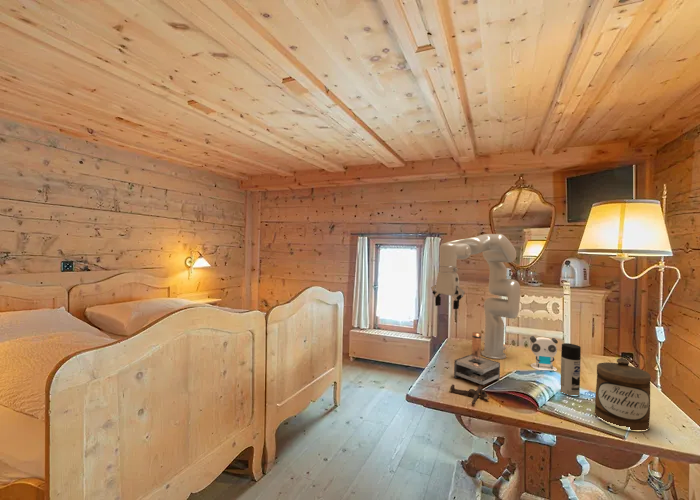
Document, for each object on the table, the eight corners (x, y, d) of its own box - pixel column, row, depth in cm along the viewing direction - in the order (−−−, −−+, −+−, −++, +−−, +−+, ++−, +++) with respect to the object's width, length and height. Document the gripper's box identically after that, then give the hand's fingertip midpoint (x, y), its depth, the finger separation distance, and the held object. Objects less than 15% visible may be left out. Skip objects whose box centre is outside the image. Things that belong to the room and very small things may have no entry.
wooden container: (596, 423, 116) (599, 360, 115) (592, 406, 128) (595, 349, 128) (654, 438, 108) (657, 369, 107) (644, 418, 120) (646, 356, 120)
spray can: (573, 398, 134) (575, 348, 134) (556, 391, 140) (558, 344, 140) (582, 395, 138) (584, 346, 137) (565, 388, 144) (567, 342, 143)
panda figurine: (531, 369, 165) (532, 339, 164) (527, 362, 176) (528, 333, 175) (559, 373, 161) (561, 342, 161) (553, 365, 172) (554, 336, 172)
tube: (474, 365, 169) (475, 331, 168) (481, 367, 166) (482, 333, 165) (469, 367, 166) (470, 332, 166) (477, 369, 163) (478, 334, 163)
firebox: (470, 370, 161) (471, 354, 161) (499, 380, 151) (500, 362, 150) (453, 377, 153) (454, 360, 152) (483, 388, 142) (483, 369, 142)
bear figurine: (455, 377, 146) (491, 381, 139) (456, 387, 146) (492, 392, 139) (445, 392, 131) (485, 398, 124) (446, 404, 131) (486, 410, 124)
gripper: (469, 271, 151) (468, 309, 151) (437, 268, 164) (436, 303, 165) (459, 272, 146) (458, 311, 147) (427, 269, 160) (426, 305, 160)
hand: (446, 307), depth 156 cm, fingers open, 9 cm apart
